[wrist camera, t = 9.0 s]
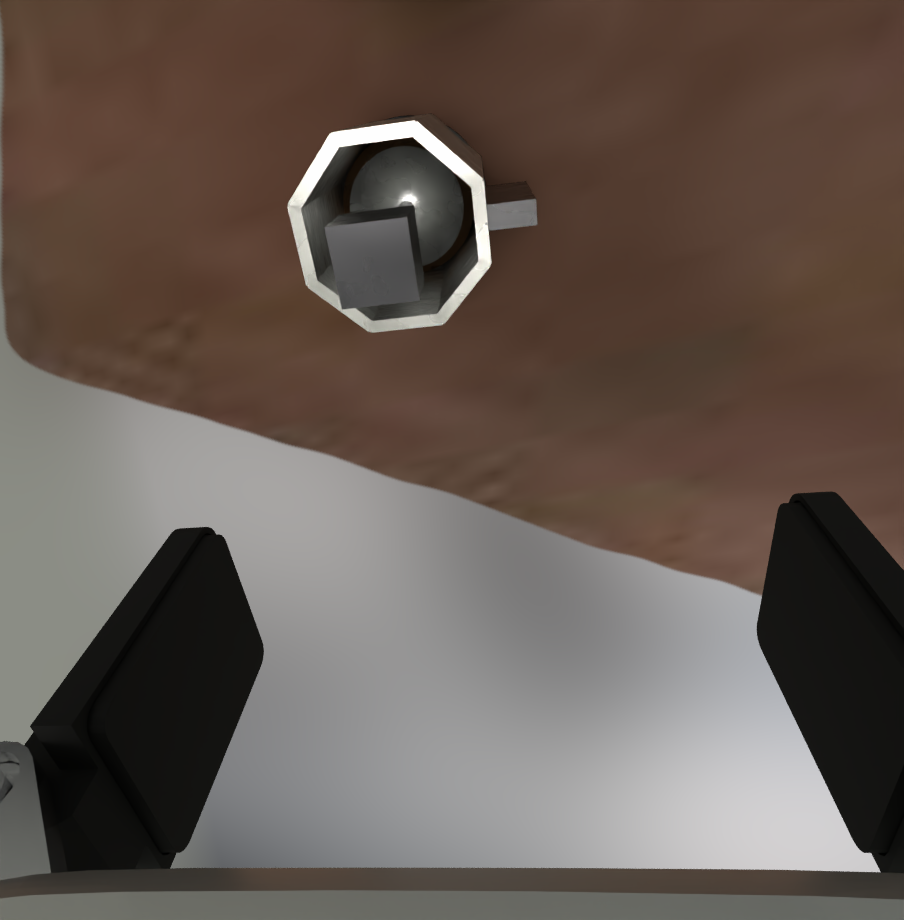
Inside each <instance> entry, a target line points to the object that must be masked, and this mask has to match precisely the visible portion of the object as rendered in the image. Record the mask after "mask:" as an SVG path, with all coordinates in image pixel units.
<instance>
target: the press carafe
mask: <svg viewBox="0 0 904 920" xmlns="http://www.w3.org/2000/svg"><path fill="white" fill-rule="evenodd" d="M405 145H407V146H416V147H420V148H423V149H426V150H428V151H430V152H431V153H432V154H433V155H434V156H436V157H437V158H438V159H439V160H440V161H441V162H443V163H444V164H445V165H446V166H447V167H448V168H450V169H451V170H452V171H453V173H454V174H455V176H456V178H457V180H458V182H459V185H460V188H461V191H462V195H463V203H464V212H463V221H462V225H461V229H460V232H459V234H458V236H457V238H456V240H455V242H454V243H453V245H452V246H451V248H450V249H449V250H448V251H447V252H446V253H445V254H444V255H443V256H442V257H440V258H439V259H437V260H436V261H434V262H432V263H430V264H428V265H425V266H423V272H424V279H425V283H424V286H423V290H422V294H421V297H420V301H413V302H404V303H396V304H387V305H378V306H369V307H360V308H352V309H343V310H342V308H341V303H340V298H339V294H338V289H337V284H336V280H335V275H334V270H333V266H332V261H331V256H330V252H329V247H328V242H327V238H326V233H325V229H324V227H325V226H327V225H328V224H329V223H330V222H331V221H332V220H334V219H335V218H336V217H337V216H338V215H340V214H347V213H350V195H351V190H352V186H353V183H354V181H355V178H356V176H357V175H358V173H359V171H360V170H361V168H362V167H363V166H364V165H365V164H366V163H367V162H368V161H369V160H370V159H371V158H372V157H373V156H375V155H376V154H378V153H380V152H382V151H383V150H386V149H388V148H391V147H396V146H405ZM288 205H289V206H287V207H288V211H289V215H290V220H291V224H292V228H293V232H294V236H295V241H296V245H297V249H298V253H299V257H300V261H301V266H302V270H303V274H304V278H305V282H306V286H307V285H309V286H308V288H309V289H310V290H312V291H313V292H315V293H316V294H317V295H319V296H320V297H321V298H323V299H324V300H325V301H327V302H328V303H330V304H331V305H332V306H334V307H335V308H336V309H338V310H339V311H341V312H342V313H343V314H345V315H346V316H347V317H349V318H350V319H352V320H353V321H354V322H356V323H357V324H358V325H360V326H361V327H362V328H364V329H365V330H367V331H368V332H370V330H371V333H374V332H383V331H392V330H401V329H410V328H420V327H429V326H438V325H442V324H445V322H446V321H447V320H448V319H449V317H450V316H451V315H452V314H453V312H454V311H455V310H456V309H457V307H458V306H459V305H460V304H461V302H462V301H463V300H464V299H465V297H466V296H467V295H468V294H469V292H470V291H471V290H472V289H473V287H474V286H475V285H476V284H477V282H478V281H479V280H480V279H481V277H482V276H483V275H484V274H485V272H486V271H487V270H488V269H489V267H490V266H491V253H490V242H489V231H491V230H499V229H508V228H516V227H524V226H532V225H537V209H536V198H535V196H534V194H533V193H532V191H531V189H530V187H529V186H528V184H527V182H526V181H524V182H517V183H509V184H501V185H493V186H486V184H485V178H484V175H483V164H482V158H481V156H480V155H479V154H478V153H477V152H476V151H475V150H474V149H472V148H471V147H470V146H469V145H468V143H467V142H466V141H465V140H464V139H463V138H462V137H461V136H460V135H459V134H458V133H457V132H455V131H454V130H453V129H452V128H450V127H448V126H447V125H445V124H444V123H443V122H442V121H441V120H440V119H438V118H437V117H436V116H435V115H434V114H425V115H418V116H414V115H408V116H399V117H394V118H390V119H387V120H382V121H375V122H370V123H366V124H362V125H358V126H354V127H350V128H347V129H343V130H339V131H335V132H332V133H330V134H329V136H328V138H327V139H326V141H325V143H324V144H323V146H322V148H321V149H320V151H319V153H318V154H317V156H316V158H315V159H314V161H313V163H312V164H311V166H310V168H309V169H308V171H307V173H306V174H305V176H304V178H303V179H302V181H301V183H300V184H299V186H298V188H297V189H296V191H295V193H294V194H293V196H292V198H291V199H290V201H289V203H288Z"/></svg>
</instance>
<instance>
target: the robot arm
mask: <svg viewBox="0 0 904 920" xmlns="http://www.w3.org/2000/svg"><path fill="white" fill-rule="evenodd" d="M757 636H758V641H759V644H760V647H761V649H762V652H763V654H764V656H765V658H766V660H767V662H768V664H769V666H770V668H771V670H772V672H773V675H774V677H775V679H776V681H777V683H778V685H779V687H780V689H781V691H782V693H783V695H784V697H785V699H786V702H787V704H788V706H789V708H790V710H791V712H792V714H793V716H794V718H795V720H796V722H797V724H798V726H799V729H800V731H801V733H802V735H803V737H804V739H805V741H806V743H807V745H808V747H809V749H810V752H811V754H812V756H813V757H814V760H815V762H816V764H817V766H818V768H819V770H820V772H821V774H822V776H823V779H824V780H825V783H826V785H827V787H828V789H829V791H830V793H831V795H832V797H833V799H834V801H835V803H836V805H837V808H838V810H839V812H840V814H841V816H842V818H843V820H844V822H845V824H846V826H847V828H848V830H849V833H850V835H851V837H852V839H853V841H854V842H855V844H856V846H857V847H858V848H859V849H860V850H861V851H862V852H864V853H872V855H873V857H874V859H875V861H876V863H877V865H878V867H879V869H880V871H881V873H879V872H877V873H876V872H840V871H839V872H838V871H800V870H730V869H721V870H720V869H609V868H608V869H607V868H605V869H604V868H176V869H170V867H171V865H172V862H173V860H174V858H175V855H176V853H180V852H182V851H183V850H184V849H185V848H186V847H187V845H188V843H189V841H190V839H191V837H192V834H193V832H194V829H195V827H196V824H197V822H198V820H199V817H200V815H201V812H202V810H203V807H204V805H205V802H206V800H207V797H208V795H209V793H210V790H211V788H212V785H213V783H214V780H215V777H216V775H217V773H218V770H219V768H220V765H221V763H222V761H223V758H224V756H225V753H226V750H227V748H228V746H229V743H230V741H231V738H232V736H233V733H234V731H235V729H236V726H237V723H238V721H239V719H240V716H241V714H242V711H243V709H244V706H245V704H246V701H247V699H248V696H249V694H250V692H251V689H252V687H253V684H254V681H255V679H256V677H257V674H258V672H259V669H260V667H261V664H262V661H263V654H264V649H263V643H262V640H261V637H260V634H259V631H258V629H257V626H256V623H255V620H254V617H253V615H252V612H251V609H250V606H249V604H248V601H247V598H246V595H245V593H244V590H243V587H242V585H241V582H240V579H239V576H238V573H237V571H236V568H235V565H234V562H233V560H232V557H231V554H230V551H229V549H228V546H227V543H226V541H225V539H224V537H223V536H222V535H216V533H215V532H214V530H213V529H212V528H209V527H199V528H182V529H176V530H174V531H173V532H172V533H171V534H170V536H169V537H168V539H167V540H166V541H165V543H164V544H163V546H162V547H161V548H160V550H159V551H158V552H157V554H156V555H155V557H154V558H153V559H152V560H151V562H150V563H149V564H148V566H147V567H146V569H145V570H144V571H143V573H142V574H141V576H140V577H139V578H138V580H137V581H136V582H135V584H134V585H133V587H132V588H131V589H130V590H129V592H128V593H127V595H126V596H125V597H124V599H123V600H122V602H121V603H120V604H119V606H118V607H117V608H116V610H115V611H114V612H113V614H112V615H111V617H110V618H109V619H108V621H107V622H106V623H105V625H104V626H103V627H102V629H101V630H100V631H99V633H98V634H97V636H96V637H95V638H94V640H93V641H92V642H91V644H90V645H89V647H88V648H87V649H86V651H85V652H84V653H83V655H82V656H81V657H80V659H79V660H78V662H77V663H76V664H75V666H74V667H73V668H72V670H71V671H70V672H69V674H68V675H67V677H66V678H65V679H64V681H63V682H62V683H61V685H60V686H59V688H58V689H57V690H56V692H55V693H54V694H53V696H52V697H51V698H50V700H49V701H48V702H47V704H46V705H45V707H44V708H43V709H42V711H41V712H40V713H39V715H38V716H37V718H36V719H35V720H34V722H33V723H32V724H31V726H30V727H31V728H32V730H33V731H34V732H33V734H32V735H31V737H30V738H29V740H28V741H27V742H26V743H25V745H22V744H20V743H19V742H8V741H3V742H0V920H904V570H903V569H902V568H901V567H900V566H899V565H898V563H897V562H896V561H895V560H894V559H893V558H892V556H891V555H890V554H889V553H888V552H887V551H886V549H885V548H884V547H883V546H882V545H881V544H880V542H879V541H878V540H877V539H876V538H875V537H874V535H873V534H872V533H871V532H870V531H869V530H868V528H867V527H866V526H865V525H864V524H863V523H862V521H861V520H860V519H859V518H858V517H857V516H856V514H855V513H854V512H853V511H852V510H851V509H850V507H849V506H848V505H847V504H846V503H845V502H844V500H843V499H842V498H841V497H840V496H839V495H838V494H837V493H835V492H815V493H798V494H794V495H793V496H792V497H791V499H790V501H789V503H783V504H781V505H780V507H779V509H778V513H777V518H776V523H775V529H774V534H773V540H772V545H771V551H770V556H769V562H768V567H767V573H766V578H765V584H764V589H763V594H762V600H761V605H760V611H759V617H758V622H757Z"/></svg>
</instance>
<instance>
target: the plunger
mask: <svg viewBox="0 0 904 920" xmlns="http://www.w3.org/2000/svg"><path fill="white" fill-rule="evenodd" d="M463 212H464V203H463V195H462V191H461V188H460V185H459V182H458V180H457V178H456V176H455V174H454V173H453V171H452V170H451V169H450V168H448V167H447V166H446V165H445V164H444V163H443V162H441V161H440V160H439V159H438V158H437V157H436V156H434V155H433V154H432V153H431V152H430V151H428V150H426V149H423V148H420V147H416V146H407V145H405V146H396V147H391V148H388V149H386V150H383V151H382V152H380V153H378V154H376V155H375V156H373V157H372V158H371V159H370V160H369V161H368V162H367V163H366V164H365V165H364V166H363V167H362V168H361V170H360V171H359V173H358V175H357V176H356V178H355V181H354V183H353V186H352V190H351V195H350V213H347V214H340V215H338V216H337V217H336V218H335V219H334V220H332V221H331V222H330V223H329V224H328V225H327V226H325V227H324V229H325V233H326V238H327V242H328V247H329V252H330V256H331V261H332V266H333V270H334V275H335V280H336V284H337V289H338V294H339V298H340V303H341V308H342V310H343V309H352V308H360V307H369V306H378V305H387V304H396V303H404V302H413V301H420V297H421V294H422V290H423V286H424V283H425V279H424V272H423V266H425V265H428V264H430V263H432V262H434V261H436V260H437V259H439V258H440V257H442V256H443V255H444V254H445V253H446V252H447V251H448V250H449V249H450V248H451V246H452V245H453V243H454V242H455V240H456V238H457V236H458V234H459V232H460V229H461V225H462V221H463Z"/></svg>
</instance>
